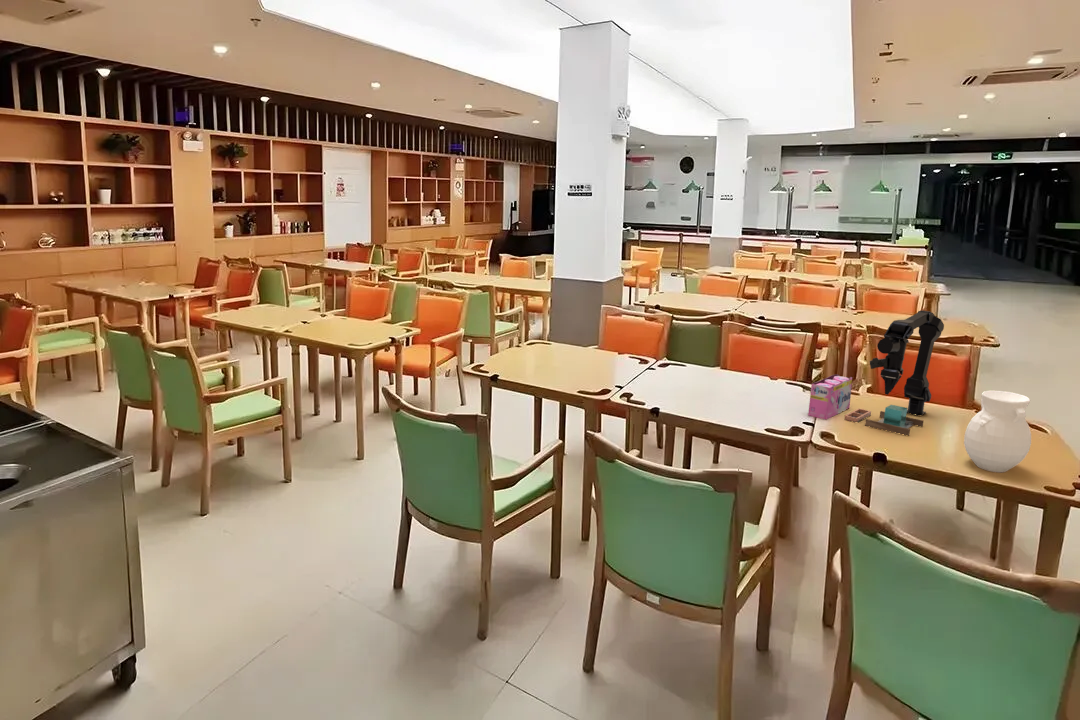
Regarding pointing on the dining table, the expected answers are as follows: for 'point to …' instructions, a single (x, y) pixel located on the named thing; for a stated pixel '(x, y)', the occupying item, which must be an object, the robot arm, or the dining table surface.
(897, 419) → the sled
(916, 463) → the dining table surface
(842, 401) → the gum box
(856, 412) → the tray
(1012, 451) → the white vase
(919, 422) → the walnut channel
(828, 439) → the dining table surface
